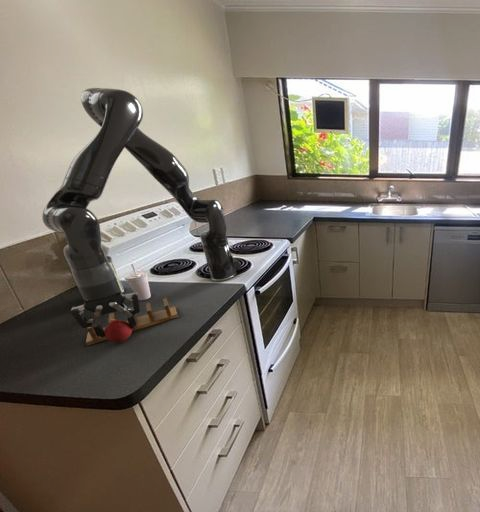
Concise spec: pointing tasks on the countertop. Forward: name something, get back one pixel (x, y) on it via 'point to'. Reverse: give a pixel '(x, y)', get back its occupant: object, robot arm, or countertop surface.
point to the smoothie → (139, 283)
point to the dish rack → (138, 321)
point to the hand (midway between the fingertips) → (118, 331)
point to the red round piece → (117, 331)
